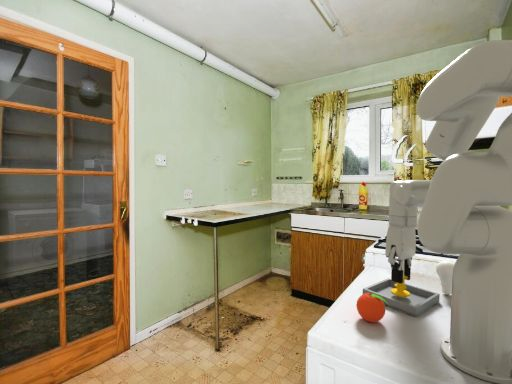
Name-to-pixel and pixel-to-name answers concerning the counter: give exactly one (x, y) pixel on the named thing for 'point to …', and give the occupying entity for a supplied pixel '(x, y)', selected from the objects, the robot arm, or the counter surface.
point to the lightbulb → (445, 275)
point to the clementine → (371, 307)
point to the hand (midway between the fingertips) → (400, 279)
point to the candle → (401, 286)
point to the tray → (410, 305)
